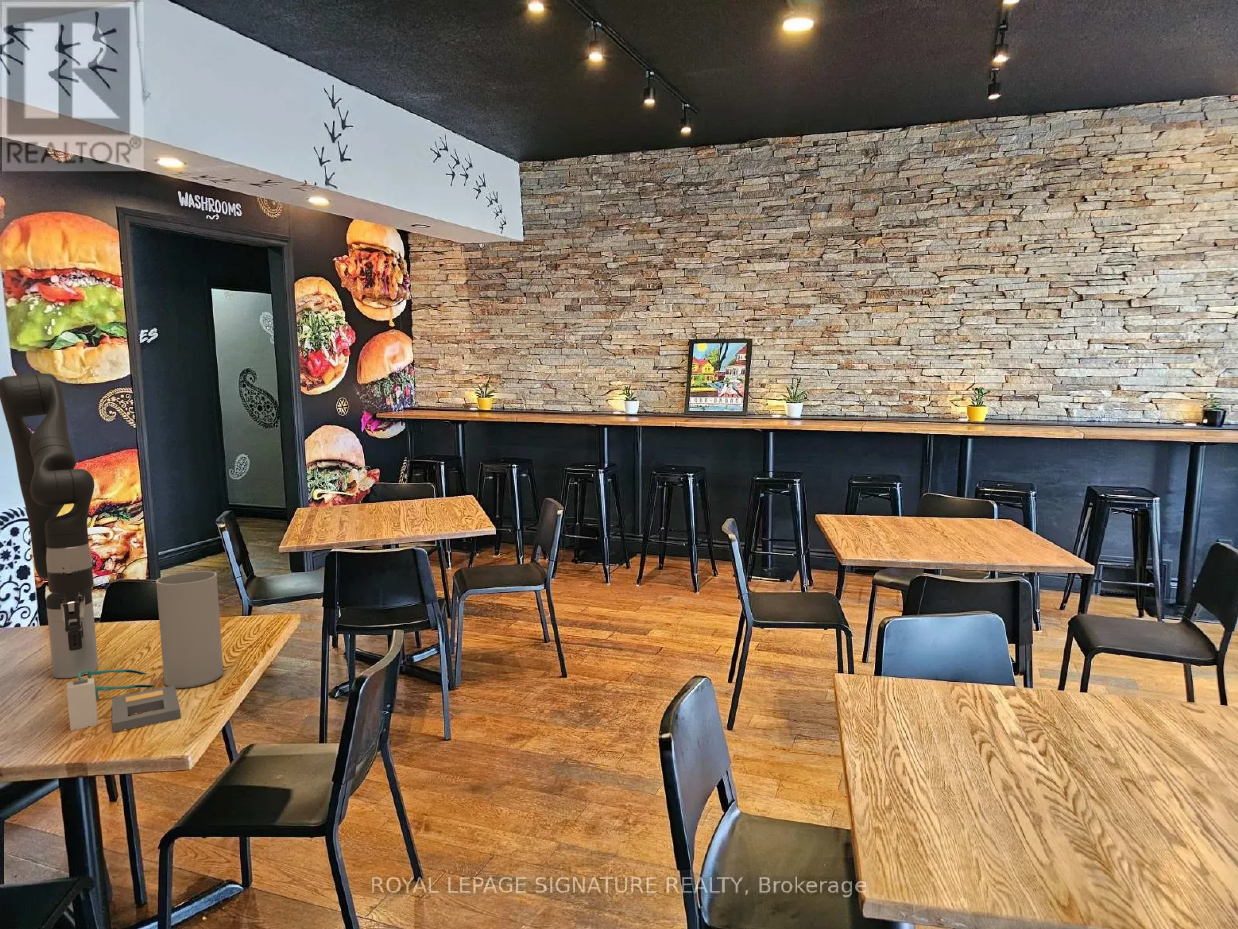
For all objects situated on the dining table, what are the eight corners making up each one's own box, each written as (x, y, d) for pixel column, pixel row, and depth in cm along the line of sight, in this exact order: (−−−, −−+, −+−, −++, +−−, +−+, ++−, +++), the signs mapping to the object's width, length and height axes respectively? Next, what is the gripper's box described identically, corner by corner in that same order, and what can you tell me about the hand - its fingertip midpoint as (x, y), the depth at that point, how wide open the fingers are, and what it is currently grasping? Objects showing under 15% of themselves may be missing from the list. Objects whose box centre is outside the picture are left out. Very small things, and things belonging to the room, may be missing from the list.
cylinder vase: (161, 677, 187) (153, 576, 184) (218, 666, 194) (211, 568, 191) (167, 693, 177) (159, 587, 174) (227, 681, 184) (220, 578, 181)
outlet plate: (112, 706, 170) (111, 696, 170) (175, 693, 177) (174, 684, 176) (113, 733, 157) (112, 722, 157) (180, 718, 163) (179, 707, 163)
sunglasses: (73, 688, 181) (73, 667, 181) (146, 678, 191) (147, 658, 191) (79, 707, 171) (80, 685, 170) (156, 695, 180) (157, 674, 180)
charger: (71, 723, 162) (67, 680, 161) (97, 718, 164) (94, 675, 163) (70, 730, 158) (66, 686, 157) (97, 725, 161) (93, 681, 160)
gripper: (49, 563, 162) (56, 638, 163) (44, 576, 150) (52, 657, 151) (92, 558, 166) (98, 632, 167) (91, 570, 154) (98, 649, 155)
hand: (76, 644), depth 159 cm, fingers open, 8 cm apart
